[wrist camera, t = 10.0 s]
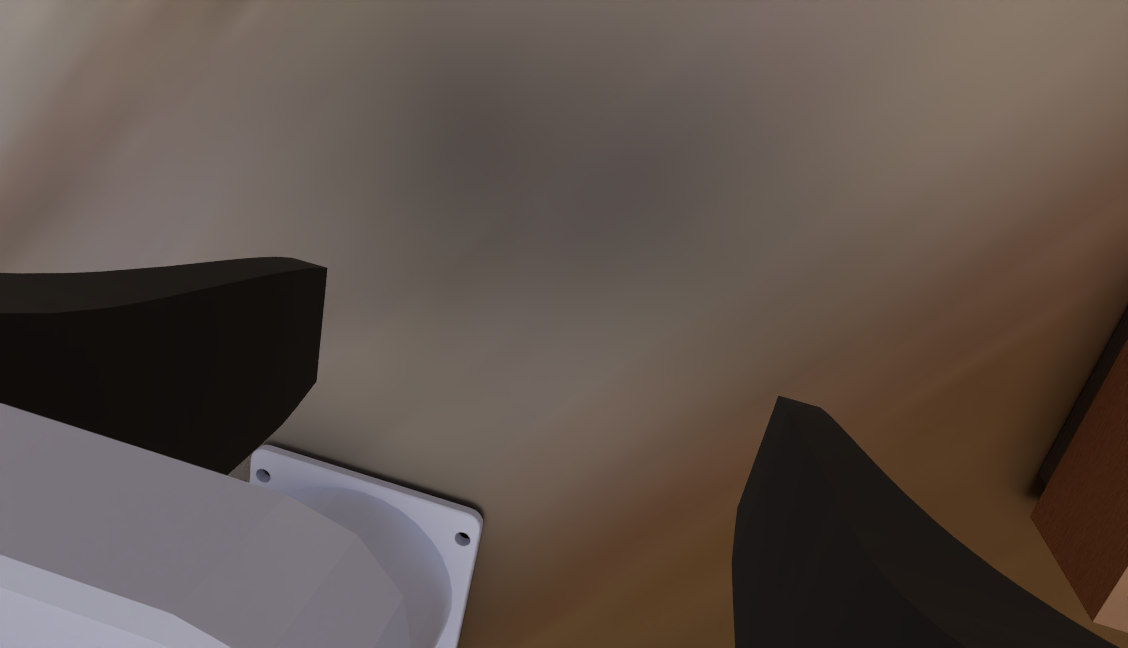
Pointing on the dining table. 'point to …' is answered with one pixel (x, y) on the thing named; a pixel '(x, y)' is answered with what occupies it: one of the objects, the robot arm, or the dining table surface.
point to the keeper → (1085, 399)
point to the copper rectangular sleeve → (1094, 504)
